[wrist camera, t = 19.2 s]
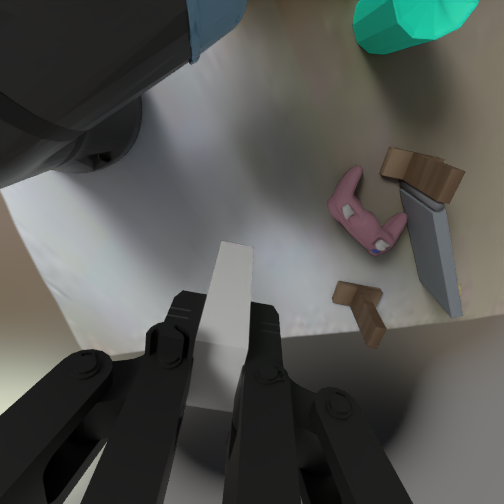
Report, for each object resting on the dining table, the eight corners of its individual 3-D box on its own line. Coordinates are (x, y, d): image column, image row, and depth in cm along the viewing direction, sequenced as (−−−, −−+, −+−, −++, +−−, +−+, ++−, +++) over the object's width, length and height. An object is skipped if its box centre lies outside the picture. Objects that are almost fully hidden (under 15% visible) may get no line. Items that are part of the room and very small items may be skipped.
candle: (428, 22, 31) (518, -15, 20) (373, 69, 32) (428, 58, 22) (396, -40, 29) (478, -118, 18) (340, 14, 30) (383, -27, 20)
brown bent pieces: (331, 298, 45) (347, 343, 37) (389, 146, 36) (426, 163, 28) (372, 305, 46) (396, 352, 37) (439, 157, 36) (491, 177, 28)
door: (419, 279, 43) (452, 320, 35) (397, 181, 37) (431, 204, 30) (437, 273, 43) (475, 313, 35) (418, 173, 37) (459, 195, 29)
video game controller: (327, 180, 39) (316, 216, 35) (358, 158, 36) (350, 194, 31) (378, 230, 42) (374, 269, 38) (411, 214, 39) (411, 255, 34)
